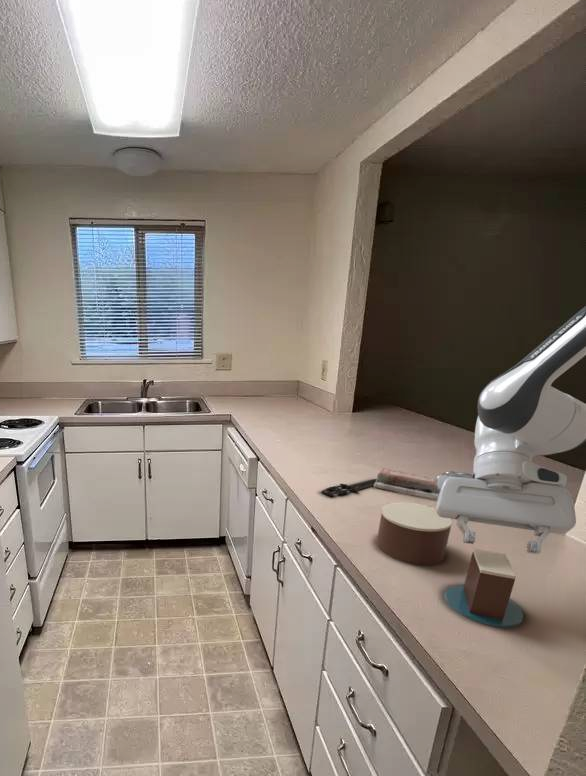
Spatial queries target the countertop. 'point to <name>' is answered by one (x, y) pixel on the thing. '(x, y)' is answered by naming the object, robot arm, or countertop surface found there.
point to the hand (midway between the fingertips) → (500, 547)
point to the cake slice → (488, 583)
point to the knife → (348, 488)
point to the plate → (459, 604)
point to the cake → (413, 533)
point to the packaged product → (407, 483)
